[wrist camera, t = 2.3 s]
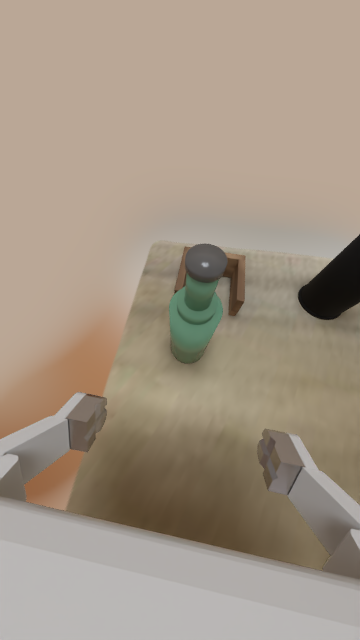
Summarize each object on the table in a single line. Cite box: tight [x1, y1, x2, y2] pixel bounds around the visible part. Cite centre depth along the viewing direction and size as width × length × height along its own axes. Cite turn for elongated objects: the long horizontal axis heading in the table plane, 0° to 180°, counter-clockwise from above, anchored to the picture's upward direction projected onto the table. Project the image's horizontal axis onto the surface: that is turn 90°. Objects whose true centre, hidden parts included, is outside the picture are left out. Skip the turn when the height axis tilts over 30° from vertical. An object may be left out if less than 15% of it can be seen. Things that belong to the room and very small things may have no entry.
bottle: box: [169, 244, 228, 364], centre depth 22 cm, size 6×6×20 cm
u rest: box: [175, 247, 245, 316], centre depth 34 cm, size 11×10×5 cm
